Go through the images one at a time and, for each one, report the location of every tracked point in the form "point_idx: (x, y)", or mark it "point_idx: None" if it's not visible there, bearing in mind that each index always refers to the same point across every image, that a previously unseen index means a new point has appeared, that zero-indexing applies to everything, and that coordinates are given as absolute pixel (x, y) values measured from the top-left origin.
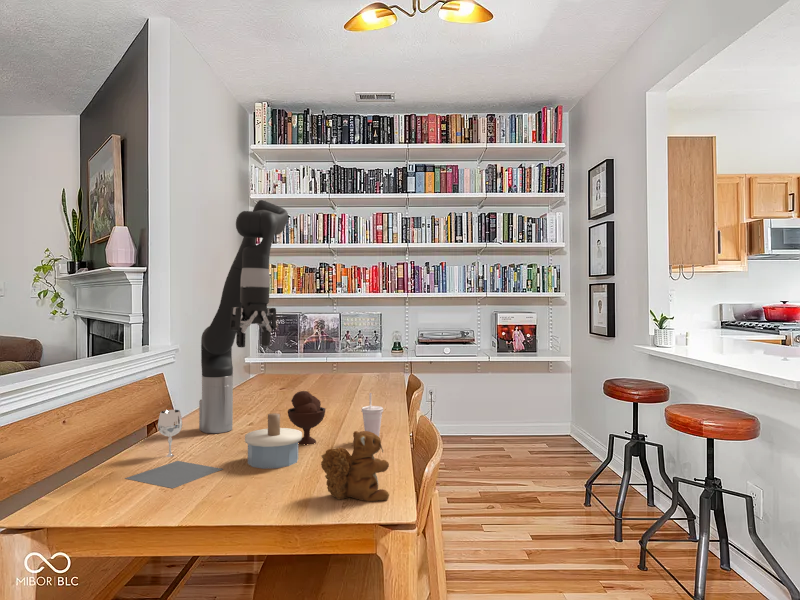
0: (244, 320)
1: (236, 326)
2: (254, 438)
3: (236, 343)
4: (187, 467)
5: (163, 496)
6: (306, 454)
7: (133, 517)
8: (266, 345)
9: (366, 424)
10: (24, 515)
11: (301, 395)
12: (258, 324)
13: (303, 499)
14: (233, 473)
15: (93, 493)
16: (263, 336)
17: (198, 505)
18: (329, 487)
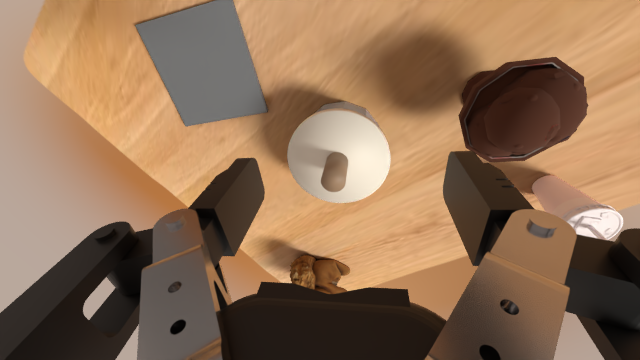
0: (211, 309)
1: (121, 299)
2: (297, 156)
3: (219, 174)
4: (228, 57)
5: (175, 131)
6: (409, 148)
7: (141, 158)
8: (443, 190)
9: (548, 204)
10: (34, 59)
11: (504, 140)
12: (481, 266)
13: (280, 240)
14: (274, 129)
15: (99, 46)
16: (469, 202)
17: (199, 181)
18: (291, 266)
